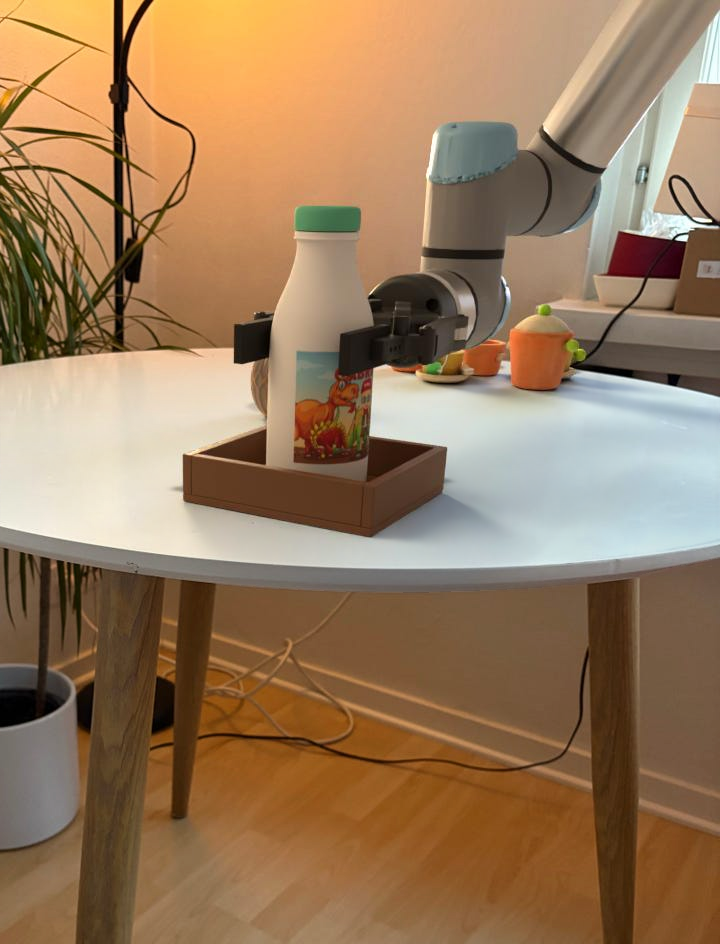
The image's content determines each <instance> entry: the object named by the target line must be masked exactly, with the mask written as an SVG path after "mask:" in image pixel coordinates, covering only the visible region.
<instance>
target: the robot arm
mask: <svg viewBox="0 0 720 944" xmlns="http://www.w3.org/2000/svg"><path fill="white" fill-rule="evenodd" d="M719 12H720V0H620V2H619V3H618V5H617V7H616V8H615V9H614V11H613V13H612V14H611V16H610V18H609V19H608V21H607V22H606V24H605V25H604V27H603V28H602V30H601V32H600V34H599V35H598V36H597V38H596V39H595V41H594V43H593V44H592V46H591V47H590V49H589V51H588V52H587V54H586V55H585V56H584V58H583V60H582V62H581V63H580V64H579V66H578V67H577V69H576V71H575V73H574V74H573V76H572V77H571V79H570V80H569V82H568V83H567V85H566V87H565V88H564V89H563V91H562V93H561V95H560V96H559V98H558V99H557V101H556V103H555V104H554V105H553V107H552V108H551V110H550V112H549V113H548V115H547V116H546V118H545V120H544V121H543V122H542V124H541V126H540V127H539V129H538V130H537V132H536V133H535V134H534V136H533V138H532V139H531V141H530V142H529V143H528V145H527V146H526V148H525V149H519V148H518V136H519V134H518V130H517V128H516V126H515V125H514V124H512V123H511V122H505V121H487V120H486V121H482V120H481V121H480V120H478V121H477V120H474V121H450V122H445V123H442V124H441V125H440V126H438V127H437V128H436V129H435V131H434V133H433V135H432V142H431V150H430V156H429V163H428V168H427V170H426V173H425V174H426V189H425V203H424V215H423V216H424V218H423V231H422V244H421V246H422V247H421V257H420V265H419V271H416V272H410V273H406V274H405V273H404V274H399V275H398V274H397V275H394V276H390V277H388V278H386V279H384V280H383V281H381V282H380V283H379V284H377V285H376V286H375V287H374V288H373V289H372V291H370V293H369V295H368V296H367V299H368V301H369V305H370V308H371V312H372V316H373V323H374V326H371V327H366V328H362V329H358V330H354V331H349V332H345V333H341V334H340V346H339V364H338V375H341V376H351V375H354V374H357V373H360V372H363V371H366V370H370V369H373V368H374V369H377V368H380V367H382V366H385V365H386V366H389V367H390V368H391V367H395V368H410V367H414V366H417V365H420V364H421V365H423V366H429V365H430V364H433V363H435V362H436V361H438V360H440V359H441V358H443V357H444V356H446V355H448V354H451V353H454V352H457V351H461V350H468V349H472V348H475V347H477V346H479V345H480V344H482V343H483V342H485V341H487V340H491V338H492V337H494V336H495V335H496V334H498V332H499V331H500V330H501V329H502V328H503V326H504V325H505V323H506V322H507V319H508V318H509V315H510V311H511V306H512V305H511V304H512V298H511V291H510V289H509V286H508V283H507V281H506V279H505V278H504V277H503V270H504V269H503V268H504V259H505V253H506V252H505V250H506V245H507V237H520V236H521V237H524V236H525V237H526V236H528V237H531V236H532V237H533V236H534V237H540V238H549V237H553V236H558V235H562V234H565V233H566V234H567V233H570V232H573V231H575V230H577V229H579V228H581V227H582V226H584V225H585V224H586V223H587V222H588V221H589V220H590V219H591V218H592V216H593V215H594V214H595V212H596V210H597V208H598V207H599V203H600V199H601V193H602V190H603V189H602V188H603V186H602V185H603V183H602V176H603V174H604V172H605V171H606V170H607V169H608V167H609V165H611V163H612V162H613V160H614V158H616V156H617V154H618V153H619V152H620V151H621V149H622V148H623V146H624V145H625V144H626V142H627V141H628V139H629V138H630V137H631V135H632V133H633V132H634V131H635V130H636V128H637V127H638V125H639V124H640V122H641V121H642V119H644V117H645V115H646V114H647V113H648V111H649V109H651V108H652V106H653V104H654V103H655V102H656V100H657V99H658V97H659V96H660V95H661V93H662V91H663V90H664V89H665V88H666V86H667V85H668V83H669V82H670V80H671V79H672V78H673V77H674V75H675V74H676V72H677V71H678V69H679V68H680V67H681V65H682V64H683V62H684V61H685V59H686V58H687V57H688V55H689V54H690V53H691V51H692V50H693V48H694V47H695V45H697V43H698V41H699V40H700V39H701V38H702V36H703V34H704V33H705V32H706V30H707V29H708V27H709V26H710V24H711V23H712V22H713V20H714V19H715V18H716V16H717V15H718V13H719ZM275 311H276V310H270V311H263V310H262V311H261V310H259V311H258V312H254V313H253V320H248V321H243V322H238V323H234V324H233V364H235V365H236V364H237V365H245V364H250V363H254V361H258V360H262V359H267V358H269V351H270V335H271V328H272V322H273V318H274V314H275ZM374 369H373V370H374Z"/></svg>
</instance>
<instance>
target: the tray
mask: <svg viewBox="0 0 720 944" xmlns="http://www.w3.org/2000/svg"><path fill="white" fill-rule="evenodd" d="M266 448H267V424H265V425H262V426H260V427H257V428H253V429H251V430H248V431H245V432H243V433H240V434H237V435H234V436H231V437H227V438H225V439H222V440H220V441H216V442H214V443H211V444H208V445H205V446H203V447H200V448H196V449H194V450H191V451H188V452H185V453H182V501H183V502H187V503H193V504H198V505H201V506H208V507H213V508H218V509H222V510H223V509H224V510H229V511H233V512H239V513H245V514H249V515H254V516H258V517H260V516H261V517H264V518H269V519H274V520H280V521H284V522H285V521H286V522H291V523H296V524H301V525H306V526H310V527H317V528H320V529H326V530H331V531H337V532H341V533H347V534H353V535H357V536H361V537H367V538H372V537H373V536H375V535H377V534H378V533H380V532H381V531H383V530H384V529H386V528H388V527H389V526H391V525H393V524H394V523H396V522H397V521H399V520H401V519H402V518H404V517H405V516H407V515H409V514H410V513H412V512H413V511H415V510H417V509H418V508H419V507H421V506H422V505H424V504H426V503H428V502H429V501H431V500H432V499H434V498H436V497H437V496H439V495H440V494H442V493H443V492H444V484H445V475H446V465H447V455H448V447H447V446H443V445H436V444H428V443H422V442H415V441H408V440H401V439H394V438H386V437H380V436H373V435H369V450H368V464H367V476H366V482H364V481H358V480H352V479H346V478H340V477H334V476H328V475H322V474H316V473H310V472H304V471H298V470H292V469H286V468H280V467H274V466H268V465H266Z"/></svg>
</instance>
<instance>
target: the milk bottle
mask: <svg viewBox="0 0 720 944" xmlns="http://www.w3.org/2000/svg"><path fill="white" fill-rule="evenodd" d="M294 209H295V210H294V216H293V217H294V218H293V228H294V230H295V231H294V236H293V239H294V240H295V241H296V253H295V258H294V261H293V265H292V268H291V272H290V274H289V277H288V279H287V282H286V284H285V287H284V289H283V291H282V293H281V295H280V298H279V300H278V302H277V305H276V307H275V310H274V311H275V314H274V318H273V322H272V328H271V335H270V351H269V373H268V405H267V417H266V418H267V419H266V425H267V448H266V465H268V466H274V467H280V468H286V469H292V470H298V471H304V472H310V473H316V474H322V475H328V476H334V477H340V478H346V479H352V480H358V481H364V482H366V476H367V464H368V450H369V436H370V433H371V418H372V417H371V416H372V404H373V403H372V402H373V401H372V400H373V387H374V386H373V385H374V369H375V368H373V369H370V370H366V371H363V372H360V373H357V374H354V375H351V376H341V375H338V364H339V346H340V334H341V333H345V332H349V331H354V330H358V329H362V328H366V327H371V326H374V323H373V316H372V312H371V308H370V305H369V301H368V299H367V298H368V296H367V294H366V291H365V290H366V289H365V288H364V285H363V281H362V279H361V275H360V270H359V266H358V260H357V252H356V251H357V242H358V241H359V240H360V239H361V238H360V230H361V225H362V211H361V208H360V207H358V206H352V205H313V204H312V205H299V206H296V207H295V208H294Z"/></svg>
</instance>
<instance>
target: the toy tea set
mask: <svg viewBox="0 0 720 944" xmlns="http://www.w3.org/2000/svg"><path fill="white" fill-rule="evenodd" d="M574 338H575V332H574V330H572V329H570V328H569V326H568V324H567V323H566V322H565V321H563V320H562V319H561V318H559V317H558V316H556V315H553V314H552V307H551V305H549V304H547V303H544V304H541V305H540V306H539V307H538V310H537V314H533V315H530V316H528V317H526V318H524V319H523V320H521V321H520V322H519V323H518V324H517V325H516V326H515V327H512V328H511V329H510V331H509V340H508V341H507V343H506V342H505V341H503V340H502V341H501V340H496V339H488V340H487V341H485V342H483V343H482V344H480V345H479V346H477V347H475V348H472V349H468V350H461V351H457V352H454V353H451V354H448V355H446V356H444V357H443V358H441V359H440V360H438V361H436V362H435V363H433V364H430V365H429V366H423V365H421V364H420V365H417V366H414V367H410V368H395V367H391V366H390V368H391V369H392V370H395V371H398V372H407V373H408V372H409V373H414V372H415V376H416V377H417V378H419V379H421V380H423V381H426V382H431V383H440V384H453V383H459V382H462V381H465V380H468V379H469V378H470V376H481V377H483V376H484V377H485V376H487V377H488V376H495V375H497V374H499V372H500V368H501V364H502V361H505V360H507V357H508V355H507V353H505V349H506V350H508V351H509V353H510V382H511V385H512V386H514V387H516V388H519V389H524V390H535V391H548V390H549V391H550V390H554V389H557V388H558V387H560V386H561V385H560V384H561V382H562V379H567V378H572V377H574V376H575V375H576V374H577V370H576V369H575V368H573V367H570V366H571V364H572V361H573V360H575V361H576V362H582V361H584V360H585V359H586V357H587V352H586V351H585V349H583V348H579V346H580V343H579V342H578V340H576V339H574Z"/></svg>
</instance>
